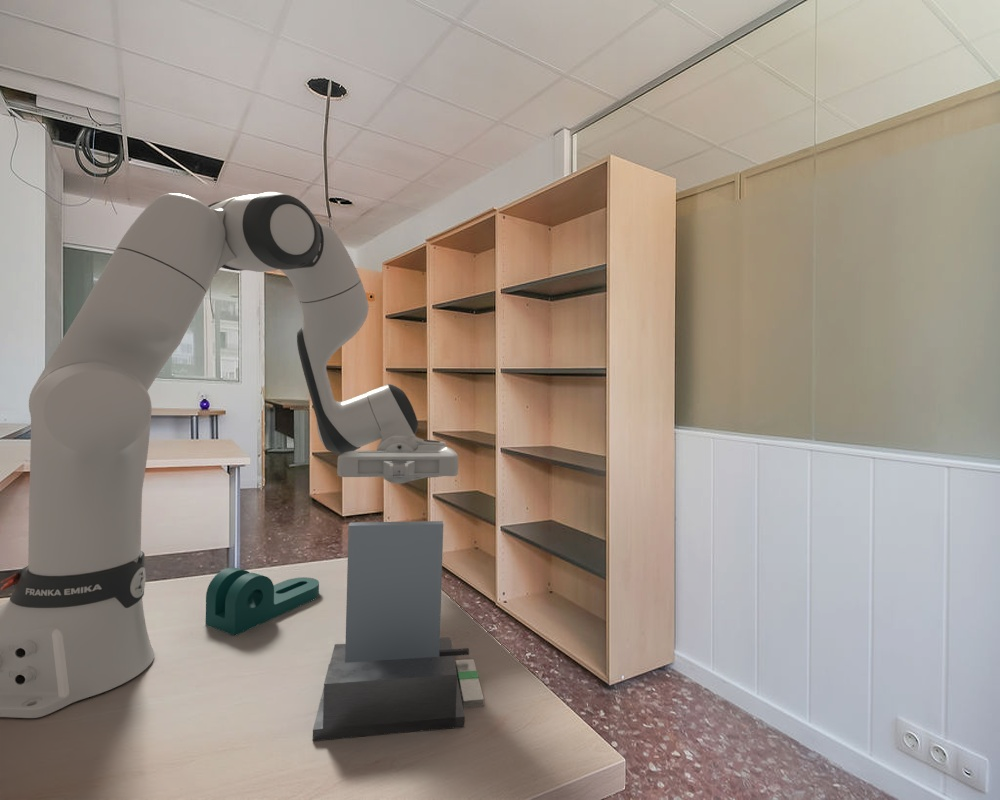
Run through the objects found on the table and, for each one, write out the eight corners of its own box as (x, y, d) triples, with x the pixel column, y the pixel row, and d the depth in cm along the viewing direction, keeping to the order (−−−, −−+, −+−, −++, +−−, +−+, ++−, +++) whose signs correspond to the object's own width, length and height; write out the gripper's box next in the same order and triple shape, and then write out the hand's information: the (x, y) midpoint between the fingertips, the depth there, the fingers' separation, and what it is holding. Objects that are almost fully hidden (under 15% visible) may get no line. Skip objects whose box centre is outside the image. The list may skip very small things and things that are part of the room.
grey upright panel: (344, 665, 66) (348, 525, 66) (346, 659, 68) (349, 522, 67) (469, 657, 69) (473, 523, 69) (467, 651, 71) (472, 520, 70)
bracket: (234, 637, 76) (235, 584, 76) (205, 626, 79) (206, 574, 79) (327, 594, 92) (328, 550, 92) (299, 586, 95) (300, 544, 95)
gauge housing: (312, 741, 54) (313, 684, 54) (334, 652, 72) (335, 610, 72) (488, 725, 58) (490, 672, 58) (468, 644, 75) (469, 604, 75)
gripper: (341, 441, 94) (331, 451, 80) (453, 441, 98) (462, 451, 84) (340, 475, 94) (330, 492, 80) (453, 474, 98) (461, 490, 84)
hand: (398, 471), depth 82 cm, fingers closed
